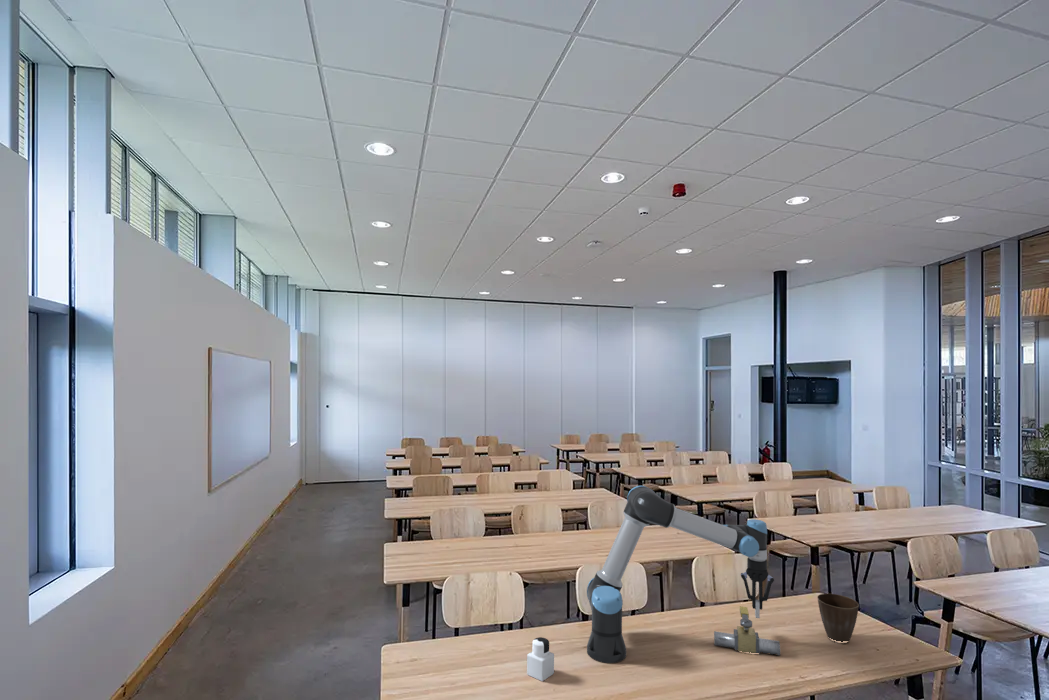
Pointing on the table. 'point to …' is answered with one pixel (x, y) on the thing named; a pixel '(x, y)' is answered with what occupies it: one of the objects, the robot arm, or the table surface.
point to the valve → (746, 641)
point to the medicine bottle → (540, 660)
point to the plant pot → (838, 615)
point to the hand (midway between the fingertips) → (757, 616)
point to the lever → (745, 617)
